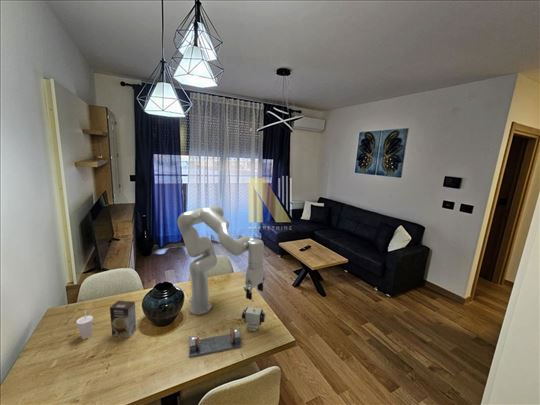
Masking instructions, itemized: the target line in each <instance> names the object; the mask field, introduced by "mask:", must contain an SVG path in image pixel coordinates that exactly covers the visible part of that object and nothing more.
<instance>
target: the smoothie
mask: <svg viewBox="0 0 540 405" xmlns="http://www.w3.org/2000/svg"><path fill="white" fill-rule="evenodd" d="M93 320H94V316H93V315H87V310H84V316H82V317H80V318H78V319H77V320H76V325H77V328H78V330H79V334H80V337H81V339H82V338H87V337H89V336H91V337H92V329H93Z"/></svg>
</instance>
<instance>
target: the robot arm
mask: <svg viewBox="0 0 540 405" xmlns="http://www.w3.org/2000/svg"><path fill="white" fill-rule="evenodd" d="M224 215H225V214H224V210H223V208H222V207H221V206H220V205H212V206H211V205H210V206H206V207H205V206H204V207H200V208H199V207H198V208H195V209H194V208H193V209H191V210H187V211H185V212H182V213H181V214H179V216H178V218H177V227H178V229H179V232H180V234H181V235H182V239H183V242H184V245H185V250H186V253H187V254H188V256H189V257H191V258H195V259H194V260H193V261H192V262H190V264H189V267H188V268H189V269H188V270H189V275H190V280H191V297H190V298H189V300H188V302H190V306H189V312H190V313H191V314H192V315H196V316H200V315H205V314H207V313H208V312H210V311H211V309H212V304H211V302H209V291H210V290H209V278H208V277H207V273H208V272H209V271H211V270H214V268H215V267H216V266H217V264H218V259H217V258H218V257H217V255H216V252H215V249H214V245H213V243H212V240H211V239H210V238H209V237H208V236H201V237H200V236H199V233H198V230H197V229H196V228H195V227H194V226H195V225H198V224H202V223H204V224H205V225H206V226H207V227H209V228H210V229H211V230H212V231H213V232H215V233H216V234H217V237H218V240H219V242H220V243H219V244H220V246H222V248H224V249H225V250H226V251H227V252H228V253H230V254H231V255H232V256H238V257H239V256H240V255H243V254H244V253H246V252H248V253H247V254H248V258H247V259H248V260H247V269H246V274H245V282H244V285H243V289H244V292H245V299H247V300H250V301H251V300H252V298H253V292H252V291H253V289H254V288H256V287H257V291H260V292H263V291H264V284H265V282H264V281H265V279H266V278H265V277H266V273H264V248H265V247H264V246H265V245H264V241H263V240H261V239H259V238H258V239H257V238H253V237H251V236H248V235H243V236H241V237H239V238H237V239H234V238H233V237H232V236H231V235H230V234H229V233H228V229H229V227H230V222H229V221H228V220H227V219H226V218H224ZM201 255H202V256H201ZM199 256H200V257H199ZM196 257H198V258H196Z"/></svg>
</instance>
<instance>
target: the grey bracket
mask: <svg viewBox="0 0 540 405" xmlns="http://www.w3.org/2000/svg"><path fill="white" fill-rule="evenodd" d="M241 331H242V330H241V328H233V327H232V326H231V327H230V329H229V334H224V335H223V334H222V335H216V336H211V337H206V338H201V339H200V332H197V334H196V335H193V336H191V335H190V336H189V337H188V348H189V350H188V352H189V353H188V358H190V359H191V358H194V357H199V356H204V355H209V354H213V353H214V354H215V353H219V352H224V351H225V352H226V351H230V350H234V349H241V348H242V340H241V338H242V332H241Z"/></svg>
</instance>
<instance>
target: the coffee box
mask: <svg viewBox="0 0 540 405" xmlns="http://www.w3.org/2000/svg"><path fill="white" fill-rule="evenodd" d="M109 314H110V325H111V327H110V328H111V337H112V336H120V337H119V338H127V337H130V336H131V337H132V336H133V334H134V333H135V332H136V331H137V320H136V318H137V317H136V301H129V300H117V301H116V302H115V303H113V304H112V305H111V306H110V307H109ZM135 330H136V331H135ZM134 331H135V332H134ZM131 337H130V338H131Z"/></svg>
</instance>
